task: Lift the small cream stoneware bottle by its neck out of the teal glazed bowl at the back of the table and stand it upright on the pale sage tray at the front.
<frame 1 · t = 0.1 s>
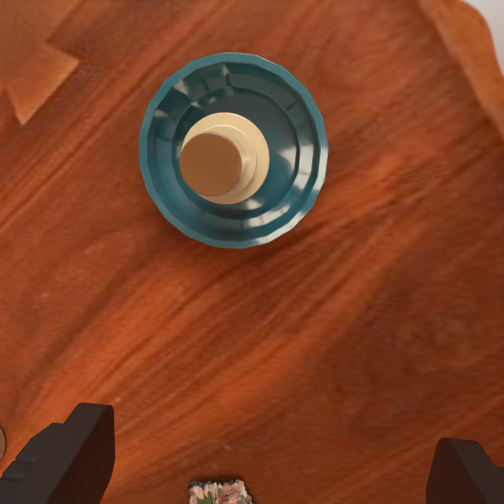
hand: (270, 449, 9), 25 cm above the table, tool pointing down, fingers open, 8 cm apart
stoneware bottle: (237, 155, 31), point 1 cm above the table, touching bowl
bowl: (238, 155, 31), on the table
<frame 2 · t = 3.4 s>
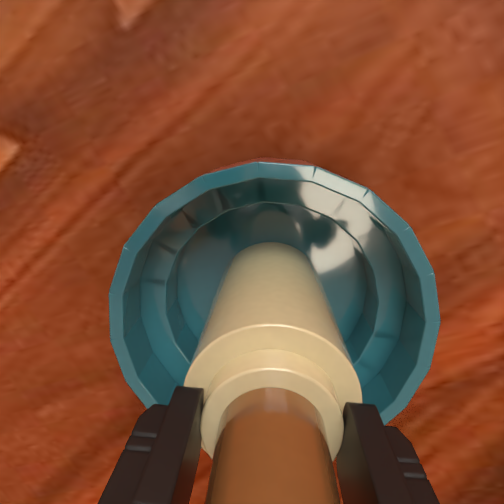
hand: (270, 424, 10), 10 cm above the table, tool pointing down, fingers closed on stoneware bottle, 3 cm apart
stoneware bottle: (270, 290, 20), point 1 cm above the table, touching bowl, gripper
bowl: (270, 286, 20), on the table
when the fingers open (10 cm above the table, at t = 11.1 s): stoneware bottle stays where it is, resting on tray.
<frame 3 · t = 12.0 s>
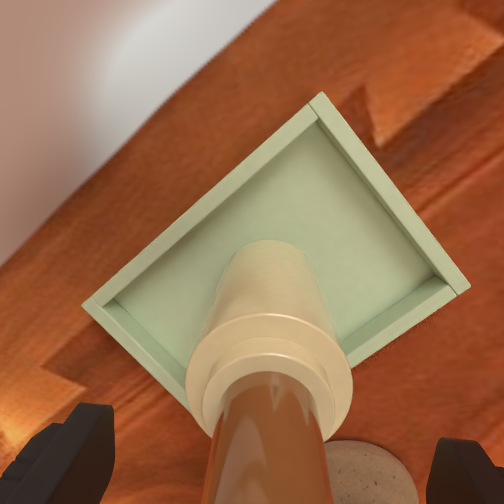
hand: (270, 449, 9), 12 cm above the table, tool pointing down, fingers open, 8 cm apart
tray: (269, 282, 21), on the table
stoneware bottle: (269, 286, 20), point 1 cm above the table, touching tray
candle holder: (343, 491, 25), on the table
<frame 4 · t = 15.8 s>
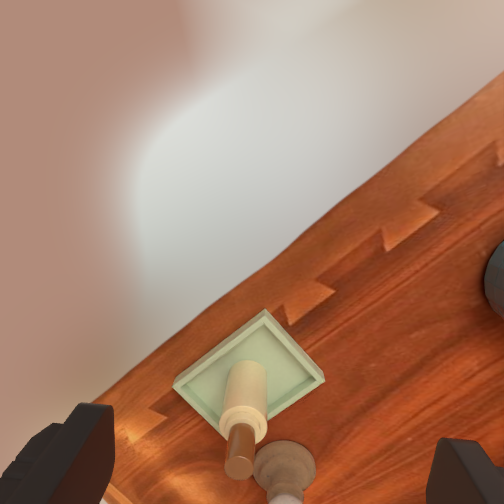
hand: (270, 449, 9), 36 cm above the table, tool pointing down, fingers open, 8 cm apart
tray: (248, 374, 50), on the table
stoneware bottle: (247, 377, 50), point 1 cm above the table, touching tray
candle holder: (283, 463, 54), on the table
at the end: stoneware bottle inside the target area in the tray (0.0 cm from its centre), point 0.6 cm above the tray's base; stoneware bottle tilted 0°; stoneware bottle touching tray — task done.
